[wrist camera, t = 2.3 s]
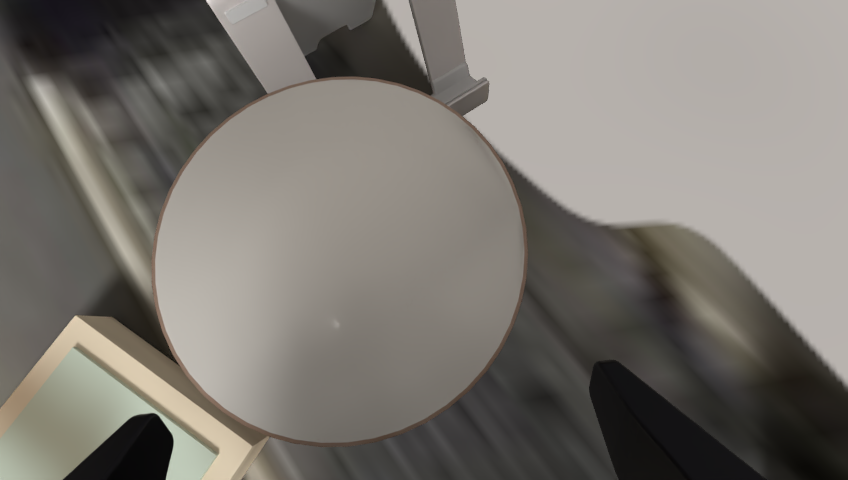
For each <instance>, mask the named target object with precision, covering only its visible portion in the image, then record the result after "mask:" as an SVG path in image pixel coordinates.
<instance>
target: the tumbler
mask: <svg viewBox="0 0 848 480" xmlns="http://www.w3.org/2000/svg"><path fill="white" fill-rule="evenodd" d="M527 260H528V246H527V232H526V225H525V220H524V215H523V211H522V206H521V203H520V200H519V197H518V194H517V191H516V189H515V186H514V183H513V181H512V179H511V177H510V175H509V173H508V171H507V169H506V167H505V165H504V163H503V162H502V160H501V159H500V157H499V156H498V155H497V153H496V152H495V150H494V149H493V147H492V146H491V144H490V143H489V142H488V141H487V140H486V139H485V138H484V137H483V135H482V134H481V133H480V132H479V131H478V130H477V129H476V128H475V127H474V126H473V125H472V124H471V123H470V122H468V121H467V120H466V119H465V118H464V117H463V116H461V115H460V114H459V113H458V112H456V111H455V110H453V109H452V108H450V107H449V106H447V105H446V104H444V103H443V102H441V101H440V100H438V99H436V98H434V97H432V96H430V95H427V94H425V93H423V92H421V91H419V90H416V89H413V88H411V87H408V86H405V85H402V84H399V83H395V82H390V81H386V80H381V79H375V78H365V77H329V78H322V79H315V80H309V81H305V82H301V83H298V84H294V85H290V86H287V87H284V88H282V89H279V90H276V91H274V92H271V93H269V94H266V95H264V96H263V97H261V98H259V99H257V100H255V101H253V102H251V103H249V104H247V105H246V106H244V107H243V108H241V109H240V110H238V111H237V112H236V113H234V114H233V115H231V116H230V117H228V118H227V119H226V120H225V121H224V122H222V123H221V124H220V125H219V126H218V127H217V128H215V129H214V130H213V131H212V132H211V133H210V134H209V135H208V136H207V137H206V138H205V139H204V140H203V142H202V143H201V144H200V145H199V146H198V147H197V148H196V149H195V150H194V152H193V153H192V154H191V156H190V157H189V159H188V160H187V161H186V163H185V164H184V166H183V167H182V168H181V170H180V172H179V174H178V175H177V177H176V179H175V181H174V183H173V185H172V186H171V188H170V190H169V193H168V195H167V198H166V200H165V203H164V205H163V208H162V210H161V213H160V217H159V221H158V225H157V229H156V233H155V237H154V245H153V253H152V288H153V295H154V301H155V308H156V312H157V315H158V318H159V322H160V325H161V329H162V332H163V334H164V337H165V339H166V341H167V343H168V345H169V348H170V350H171V352H172V354H173V356H174V357H175V359H176V361H177V362H178V364H179V365H180V367H181V368H182V370H183V371H184V373H185V375H186V376H187V377H188V378H189V380H190V381H191V382H192V383H193V384H194V385H195V387H196V388H197V389H198V390H199V391H200V392H201V393H202V395H203V396H205V397H206V398H207V399H208V400H209V401H210V402H212V403H213V404H214V405H215V406H216V407H217V408H219V409H220V410H221V411H222V412H223V413H225V414H227V415H228V416H230V417H231V418H233V419H235V420H236V421H238V422H239V423H241V424H243V425H244V426H246V427H248V428H251V429H253V430H255V431H257V432H260V433H262V434H264V435H267V436H269V437H272V438H276V439H280V440H283V441H287V442H291V443H294V444H302V445H310V446H318V447H346V446H354V445H361V444H367V443H373V442H377V441H381V440H384V439H387V438H390V437H394V436H397V435H400V434H403V433H405V432H407V431H409V430H411V429H413V428H416V427H418V426H420V425H422V424H424V423H426V422H428V421H429V420H431V419H432V418H434V417H436V416H437V415H439V414H440V413H442V412H443V411H445V410H446V409H448V408H449V407H451V406H452V405H453V404H454V403H455V402H456V401H458V400H459V399H460V398H461V397H462V396H463V395H465V394H466V393H467V392H468V391H469V390H470V389H471V388H472V387H473V386H474V385H475V384H476V382H477V381H478V380H479V379H480V378H481V377H482V376H483V375H484V374H485V372H486V371H487V370H488V369H489V367H490V366H491V364H492V363H493V361H494V360H495V358H496V357H497V355H498V354H499V352H500V351H501V349H502V348H503V346H504V344H505V342H506V340H507V338H508V336H509V334H510V332H511V330H512V327H513V325H514V323H515V320H516V317H517V314H518V311H519V308H520V305H521V302H522V297H523V292H524V287H525V282H526V277H527Z"/></svg>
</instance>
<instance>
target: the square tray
mask: <svg viewBox="0 0 848 480" xmlns="http://www.w3.org/2000/svg"><path fill="white" fill-rule="evenodd" d="M147 413H155V414H157V415H159V417H160V418H161V419H162V421H163V422H164V424H165V425H166V426H167V428H168V429H169V431H170V432H171V433H172V435H173V439H174V446H173V451H172V455H171V459H170V463H169V468H168V472H167V476H166V480H241V479H242V478H243V476H244V475H245V473H246V472H247V470H248V469H249V467H250V466H251V464H252V463H253V461H254V460H255V458H256V457H257V455H258V454H259V452H260V451H261V449H262V448H263V446H264V445H265V443H266V442H267V440H268V439H269V436H267V435H264V434H262V433H260V432H257V431H255V430H253V429H251V428H248V427H246V426H244V425H243V424H241V423H239V422H238V421H236V420H235V419H233V418H231V417H230V416H228V415H227V414H225V413H223V412H222V411H221V410H220V409H219V408H217V407H216V406H215V405H214V404H213V403H212V402H210V401H209V400H208V399H207V398H206V397H205V396H203V395H202V393H201V392H200V391H199V390H198V389H197V388H196V387H195V385H194V384H193V383H192V382H191V381H190V380H189V378H188V377H187V376H186V375H185V373H184V371H183V370H182V368H181V367H180V366H179V365H177V364H176V363H175V362H173V361H172V360H170V359H169V358H168V357H166V356H165V355H164V354H162V353H161V352H159V351H158V350H157V349H155V348H154V347H153V346H151V345H150V344H149V343H147V342H146V341H144V340H143V339H142V338H140V337H139V336H138V335H136V334H135V333H133V332H132V331H131V330H129V329H128V328H127V327H125V326H124V325H122V324H121V323H120V322H118V321H117V320H116V319H114V318H113V317H103V316H81V315H75V317H74V318H73V319H72V320H71V321H70V323H69V324H68V325H67V326H66V328H65V329H64V330H63V331H62V333H61V334H60V335H59V336H58V338H57V339H56V340H55V341H54V343H53V344H52V345H51V346H50V348H49V349H48V350H47V351H46V353H45V354H44V355H43V356H42V358H41V359H40V360H39V361H38V363H37V364H36V365H35V366H34V367H33V369H32V370H31V371H30V372H29V374H28V375H27V376H26V377H25V379H24V380H23V381H22V382H21V384H20V385H19V386H18V387H17V389H16V390H15V391H14V392H13V394H12V395H11V396H10V397H9V399H8V400H7V401H6V402H5V404H4V405H3V406H2V407H1V409H0V480H63V479H64V478H65V477H66V476H67V475H68V474H69V473H70V472H71V471H72V470H74V469H75V468H76V467H77V466H78V465H79V464H80V463H81V462H82V461H83V460H84V459H86V458H87V457H88V456H89V455H90V454H91V453H92V452H93V451H94V450H95V449H97V448H98V447H99V446H100V445H101V444H102V443H103V442H104V441H105V440H106V439H107V438H109V437H110V436H111V435H112V434H113V433H114V432H115V431H116V430H117V429H118V428H119V427H121V426H122V425H123V424H124V423H125V422H126V421H127V420H128V419H130V418H131V417H133V416H135V415H139V414H147Z"/></svg>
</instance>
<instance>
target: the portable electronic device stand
mask: <svg viewBox="0 0 848 480" xmlns="http://www.w3.org/2000/svg"><path fill="white" fill-rule="evenodd" d="M206 1H207V3H208V4H209V6H210V7H211V9H212V10H213V12H214V13H215V15H216V16H217V18H218V19H219V21H220V22H221V24H222V25H223V27H224V28H225V30H226V31H227V33H228V34H229V36H230V37H231V39H232V40H233V42H234V43H235V45H236V47H237V48H238V50H239V51H240V53H241V54H242V56H243V57H244V59H245V60H246V62H247V63H248V65H249V66H250V68H251V69H252V71H253V72H254V74H255V75H256V77H257V78H258V80H259V81H260V83H261V84H262V86H263V87H264V89H265V90H266V92H267V93H268V94H269V93H271V92H274V91H276V90H279V89H282V88H284V87H287V86H290V85H294V84H298V83H301V82H305V81H309V80H315V79H316V78H315V76H314V74H313V72H312V70H311V68H310V66H309V64H308V62H307V61H306V59H305V56H306V55H308V54H310V53H312V52H313V51H315V50H317V45H318V43H319V41H320V40H321V39H322V38H323V37H325V36H327V35H329V34H330V33H332V32H334V31H336V30H337V29H339V28H341V27H343V26H345V25H347V26H348V28H349V29H350V30H352V29H354V28H356V27H358V26H359V25H361V24H363V23H365V22H367V21H368V20H369V19H370V18H371V17H372V16H373V11H374V7H375V2H376V0H206ZM409 3H410V7H411V11H412V15H413V18H414V22H415V26H416V30H417V34H418V37H419V41H420V45H421V49H422V53H423V57H424V61H425V64H426V68H427V72H428V76H429V80H430V83H431V87H432V91H433V93H432V95H431V96H432V97H434V98H436V99H438V100H440V101H441V102H443V103H444V104H446V105H447V106H449V107H450V108H452V109H453V110H455V111H456V112H458V113H459V114H460V115H461V116H463V115H465V114H466V113H468V112H470V111H471V110H473V109H474V108H476V107H477V106H479V105H481V104H483V103H484V102H486V101H487V99H488V93H489V81H487V79H486V78H482V79H480V80H478V81H476V80H475V79H473V78H472V77H471V76H470V75H469V70H468V65H467V63H466V62H465V55H464V49H463V43H462V37H461V32H460V26H459V20H458V14H457V8H456V3H455V0H409Z"/></svg>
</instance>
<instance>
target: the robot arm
mask: <svg viewBox="0 0 848 480" xmlns="http://www.w3.org/2000/svg"><path fill="white" fill-rule="evenodd" d="M589 392H590V397H591V400H592V403H593V406H594V409H595V412H596V415H597V418H598V421H599V424H600V427H601V430H602V434H603V437H604V440H605V443H606V446H607V449H608V452H609V455H610V458H611V461H612V463H613V466H614V469H615V472H616V474H617V477H618V479H619V480H767V479H765V478H764V477H763V476H761V475H760V474H759V473H758V472H756V471H755V470H754V469H753V468H751V467H750V466H749V465H748V464H746V463H745V462H744V461H743V460H741V459H740V458H739V457H738V456H736V455H735V454H734V453H733V452H731V451H730V450H729V449H728V448H726V447H725V446H724V445H723V444H721V443H720V442H719V441H718V440H716V439H715V438H714V437H712V436H711V435H710V434H709V433H707V432H706V431H705V430H704V429H702V428H701V427H700V426H699V425H697V424H696V423H695V422H694V421H692V420H691V419H690V418H689V417H687V416H686V415H685V414H684V413H682V412H681V411H680V410H679V409H677V408H676V407H675V406H674V405H672V404H671V403H670V402H669V401H667V400H666V399H665V398H664V397H662V396H661V395H660V394H658V393H657V392H656V391H655V390H653V389H652V388H651V387H650V386H648V385H647V384H646V383H645V382H643V381H642V380H641V379H640V378H638V377H637V376H636V375H635V374H633V373H632V372H631V371H630V370H628V369H627V368H626V367H625V366H623V365H622V364H621V363H619V362H618V361H616V360H605V361H598V362H596V363H595V364H594V367H593V371H592V376H591V381H590V386H589ZM173 446H174V439H173V435H172V433H171V432H170V431H169V429H168V428H167V426H166V425H165V424H164V422H163V421H162V419H161V418H160V417H159V415H157V414H155V413H147V414H139V415H135V416H133V417H131V418H130V419H128V420H127V421H126V422H125V423H124V424H123V425H122V426H121V427H119V428H118V429H117V430H116V431H115V432H114V433H113V434H112V435H111V436H110V437H109V438H107V439H106V440H105V441H104V442H103V443H102V444H101V445H100V446H99V447H98V448H97V449H95V450H94V451H93V452H92V453H91V454H90V455H89V456H88V457H87V458H86V459H84V460H83V461H82V462H81V463H80V464H79V465H78V466H77V467H76V468H75V469H74V470H72V471H71V472H70V473H69V474H68V475H67V476H66V477H65V478H64V479H63V480H166V476H167V472H168V468H169V463H170V459H171V455H172V451H173Z"/></svg>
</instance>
